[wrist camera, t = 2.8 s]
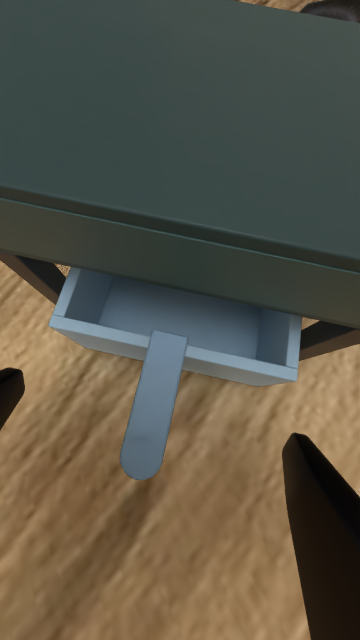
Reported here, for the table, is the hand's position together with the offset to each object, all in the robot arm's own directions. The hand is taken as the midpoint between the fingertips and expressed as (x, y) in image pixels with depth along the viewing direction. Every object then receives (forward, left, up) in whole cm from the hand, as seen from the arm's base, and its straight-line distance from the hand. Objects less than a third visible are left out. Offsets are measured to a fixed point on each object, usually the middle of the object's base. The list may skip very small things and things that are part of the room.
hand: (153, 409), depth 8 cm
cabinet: (+7, -6, -9) cm, 13 cm away
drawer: (+4, -4, -8) cm, 10 cm away
